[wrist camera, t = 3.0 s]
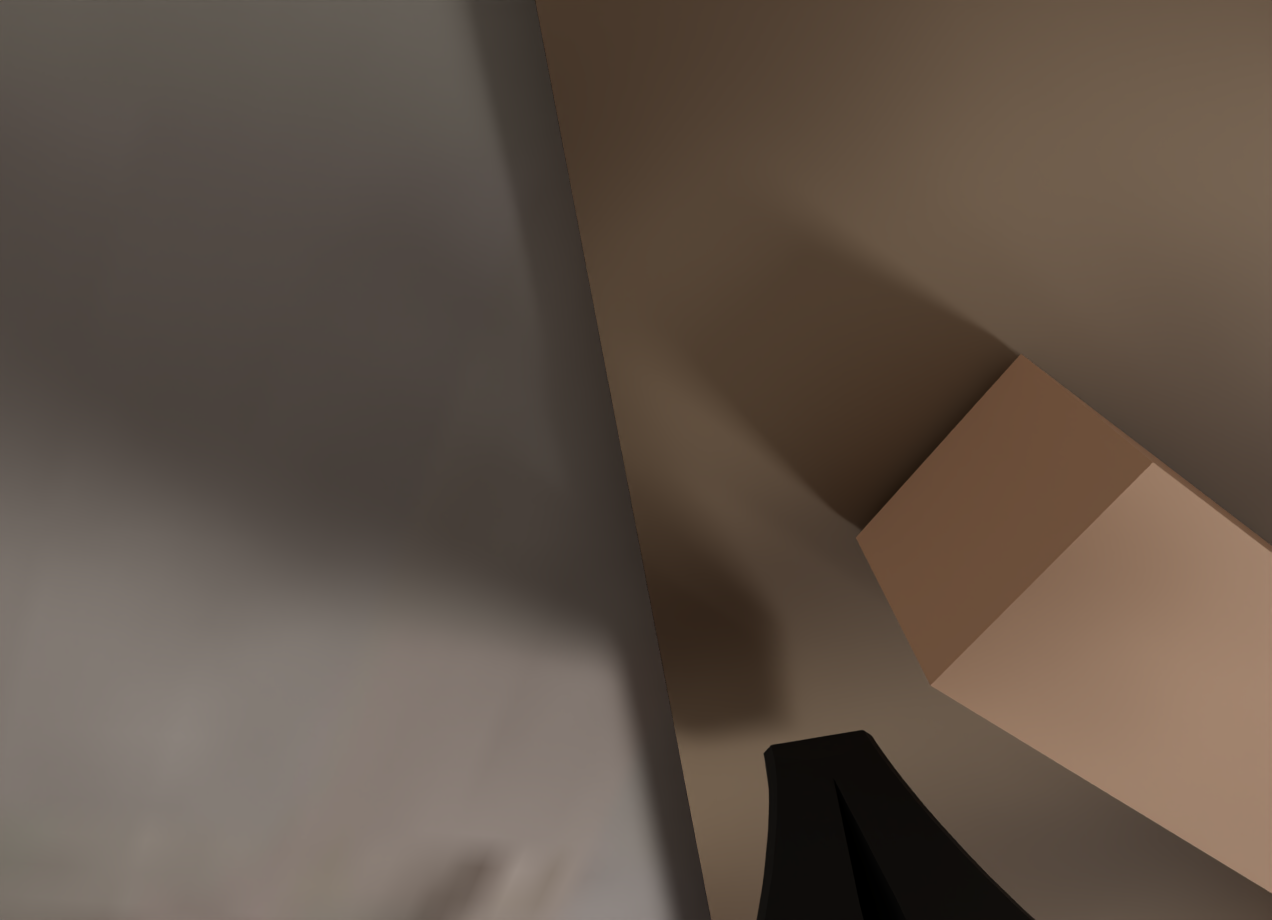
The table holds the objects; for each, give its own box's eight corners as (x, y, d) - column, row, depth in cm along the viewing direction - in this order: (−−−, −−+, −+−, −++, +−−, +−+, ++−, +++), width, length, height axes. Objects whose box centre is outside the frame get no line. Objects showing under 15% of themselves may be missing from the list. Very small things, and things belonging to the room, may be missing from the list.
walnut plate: (1649, 890, 18) (1704, 936, 17) (735, 1034, 19) (743, 1087, 18) (2201, -549, 10) (2366, -604, 9) (496, -224, 10) (488, -244, 9)
